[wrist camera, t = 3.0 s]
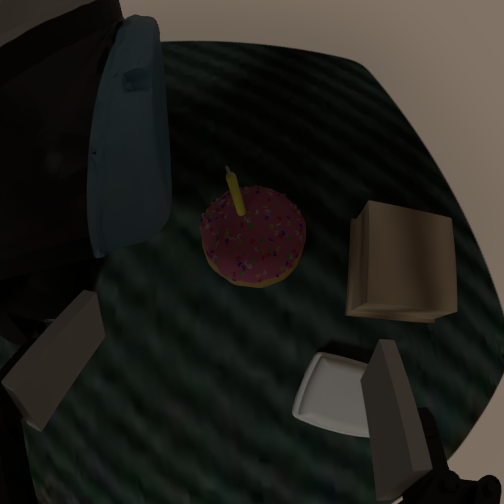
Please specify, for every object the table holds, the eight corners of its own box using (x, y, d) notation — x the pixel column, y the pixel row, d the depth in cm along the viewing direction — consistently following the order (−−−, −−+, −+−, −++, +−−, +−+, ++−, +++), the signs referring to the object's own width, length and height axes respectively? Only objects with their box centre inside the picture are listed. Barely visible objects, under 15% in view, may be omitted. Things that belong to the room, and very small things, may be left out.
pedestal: (345, 315, 27) (363, 305, 22) (350, 220, 30) (365, 196, 26) (431, 323, 27) (459, 314, 22) (430, 235, 30) (453, 215, 25)
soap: (398, 373, 25) (411, 374, 23) (373, 439, 23) (385, 446, 21) (313, 347, 27) (320, 345, 24) (286, 416, 24) (289, 422, 22)
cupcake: (190, 259, 29) (153, 197, 18) (245, 196, 31) (241, 112, 20) (262, 315, 27) (268, 283, 16) (316, 244, 29) (349, 175, 18)
